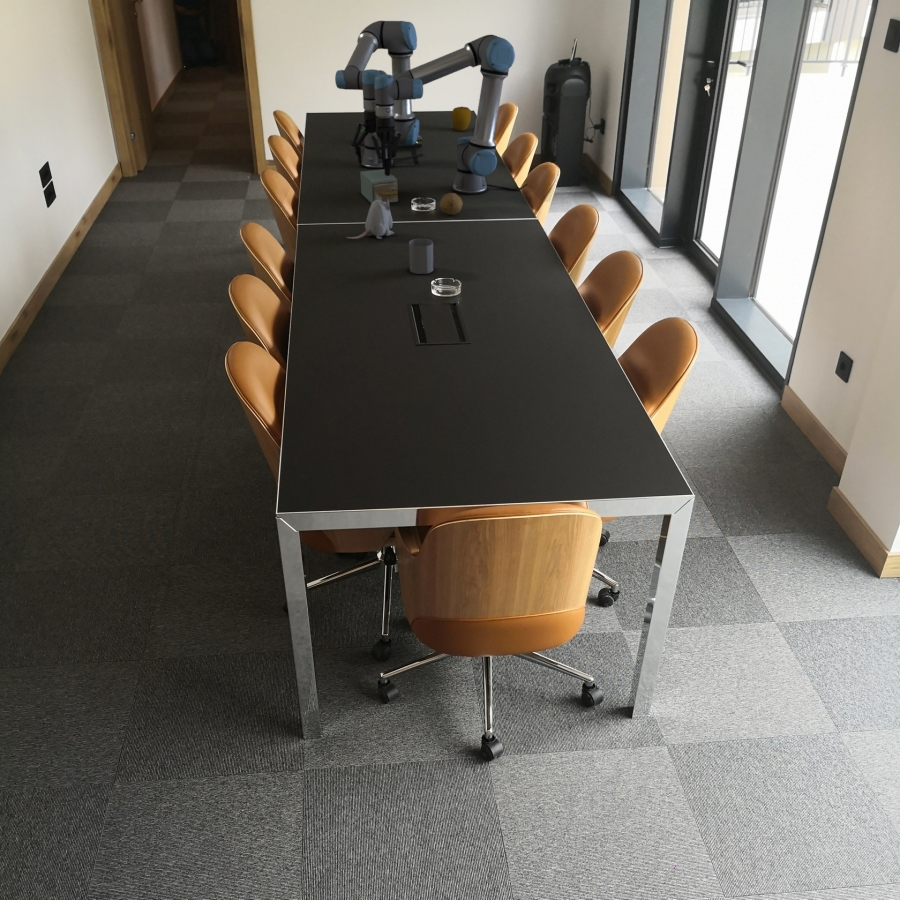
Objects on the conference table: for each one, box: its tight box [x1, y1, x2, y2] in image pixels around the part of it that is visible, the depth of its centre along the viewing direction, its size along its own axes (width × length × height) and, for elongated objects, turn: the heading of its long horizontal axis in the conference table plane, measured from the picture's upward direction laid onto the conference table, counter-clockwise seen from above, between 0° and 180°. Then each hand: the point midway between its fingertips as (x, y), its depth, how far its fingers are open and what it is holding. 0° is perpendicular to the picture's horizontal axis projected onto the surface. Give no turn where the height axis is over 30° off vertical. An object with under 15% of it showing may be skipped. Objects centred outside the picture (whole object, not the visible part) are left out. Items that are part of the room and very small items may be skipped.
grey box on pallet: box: [359, 168, 399, 204], centre depth 379 cm, size 17×11×10 cm, turn 21°
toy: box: [345, 195, 395, 240], centre depth 331 cm, size 9×24×15 cm, turn 137°
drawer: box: [374, 181, 399, 203], centre depth 375 cm, size 21×10×8 cm, turn 21°
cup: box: [408, 237, 434, 275], centre depth 305 cm, size 8×8×10 cm
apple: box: [451, 105, 472, 132], centre depth 487 cm, size 11×11×13 cm
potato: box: [439, 192, 464, 216], centre depth 360 cm, size 10×14×8 cm
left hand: (374, 161), depth 377 cm, fingers open, 13 cm apart
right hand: (387, 174), depth 365 cm, fingers closed
